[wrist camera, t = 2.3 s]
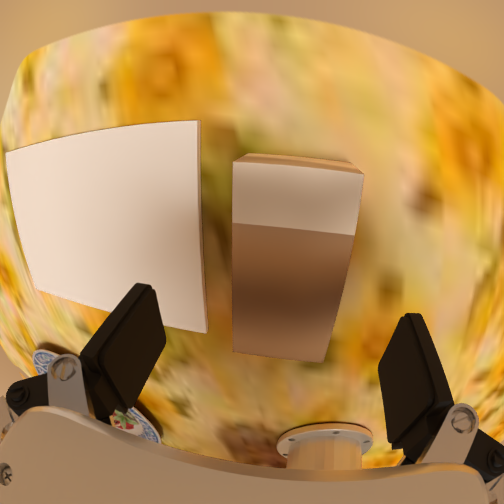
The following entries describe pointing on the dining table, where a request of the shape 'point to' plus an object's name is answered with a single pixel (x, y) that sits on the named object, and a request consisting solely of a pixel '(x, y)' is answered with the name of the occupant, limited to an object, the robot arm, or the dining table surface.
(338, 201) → the brown and beige box
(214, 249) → the dining table surface
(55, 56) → the dining table surface
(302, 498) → the robot arm
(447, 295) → the dining table surface
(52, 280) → the white rectangular board
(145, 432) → the ceramic plate
